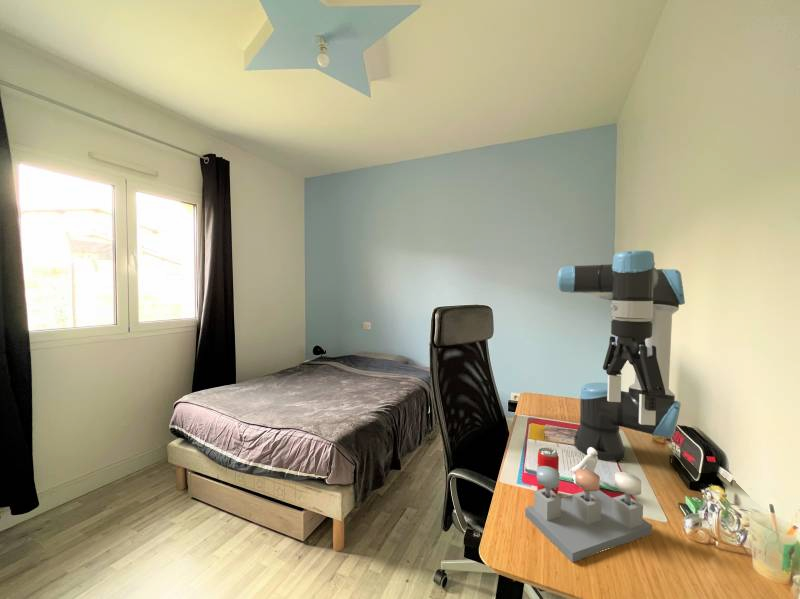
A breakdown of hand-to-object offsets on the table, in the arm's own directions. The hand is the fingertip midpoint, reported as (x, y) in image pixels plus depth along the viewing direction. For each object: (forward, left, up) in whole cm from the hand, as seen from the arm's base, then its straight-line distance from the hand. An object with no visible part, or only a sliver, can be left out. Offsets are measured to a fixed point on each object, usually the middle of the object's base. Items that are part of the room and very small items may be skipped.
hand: (628, 411), depth 71 cm
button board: (+7, -5, -29) cm, 30 cm away
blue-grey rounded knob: (+15, -9, -23) cm, 29 cm away
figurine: (-6, -17, -29) cm, 34 cm away
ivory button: (-1, -1, -23) cm, 23 cm away
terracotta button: (+7, -5, -23) cm, 25 cm away
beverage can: (+7, -16, -29) cm, 34 cm away
